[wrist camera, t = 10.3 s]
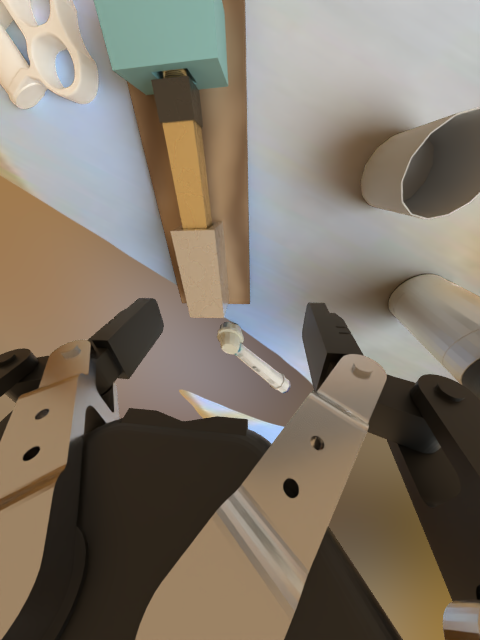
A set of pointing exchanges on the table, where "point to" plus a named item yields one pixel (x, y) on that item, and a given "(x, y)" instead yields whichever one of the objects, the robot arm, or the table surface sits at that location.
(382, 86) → the table surface
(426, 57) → the table surface
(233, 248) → the base board
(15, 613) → the robot arm
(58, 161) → the table surface
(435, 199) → the cup
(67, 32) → the knuckle duster
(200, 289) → the sleeve
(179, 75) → the plug
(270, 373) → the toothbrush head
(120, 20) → the teal rectangular block
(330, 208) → the table surface
